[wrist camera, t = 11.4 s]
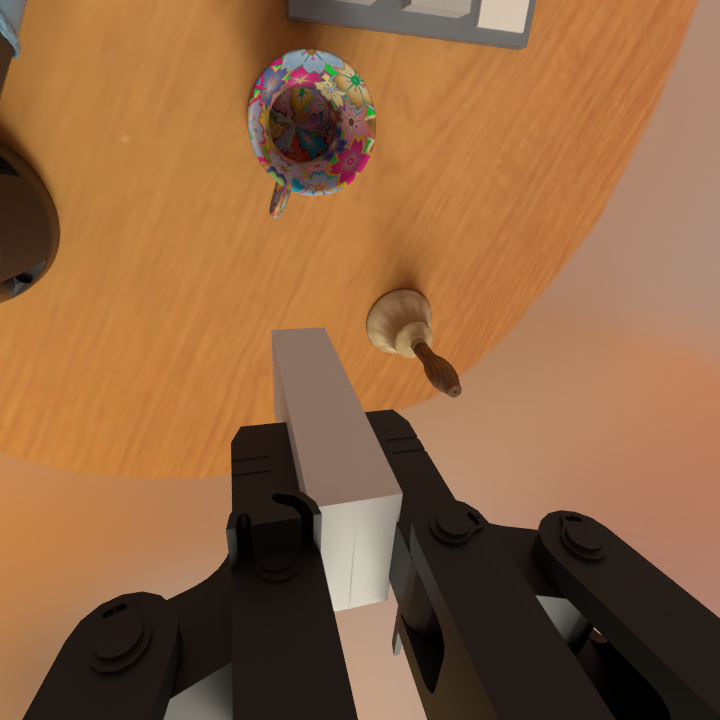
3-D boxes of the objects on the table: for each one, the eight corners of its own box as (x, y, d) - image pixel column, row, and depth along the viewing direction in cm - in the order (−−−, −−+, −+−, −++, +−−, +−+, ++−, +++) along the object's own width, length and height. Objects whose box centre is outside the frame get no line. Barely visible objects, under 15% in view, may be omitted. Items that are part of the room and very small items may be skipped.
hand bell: (386, 364, 55) (438, 443, 42) (353, 315, 51) (399, 386, 37) (441, 327, 55) (511, 395, 41) (412, 275, 50) (481, 332, 37)
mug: (264, 41, 37) (277, 16, 28) (360, 99, 41) (398, 94, 32) (218, 180, 41) (216, 198, 32) (309, 221, 45) (330, 247, 36)
